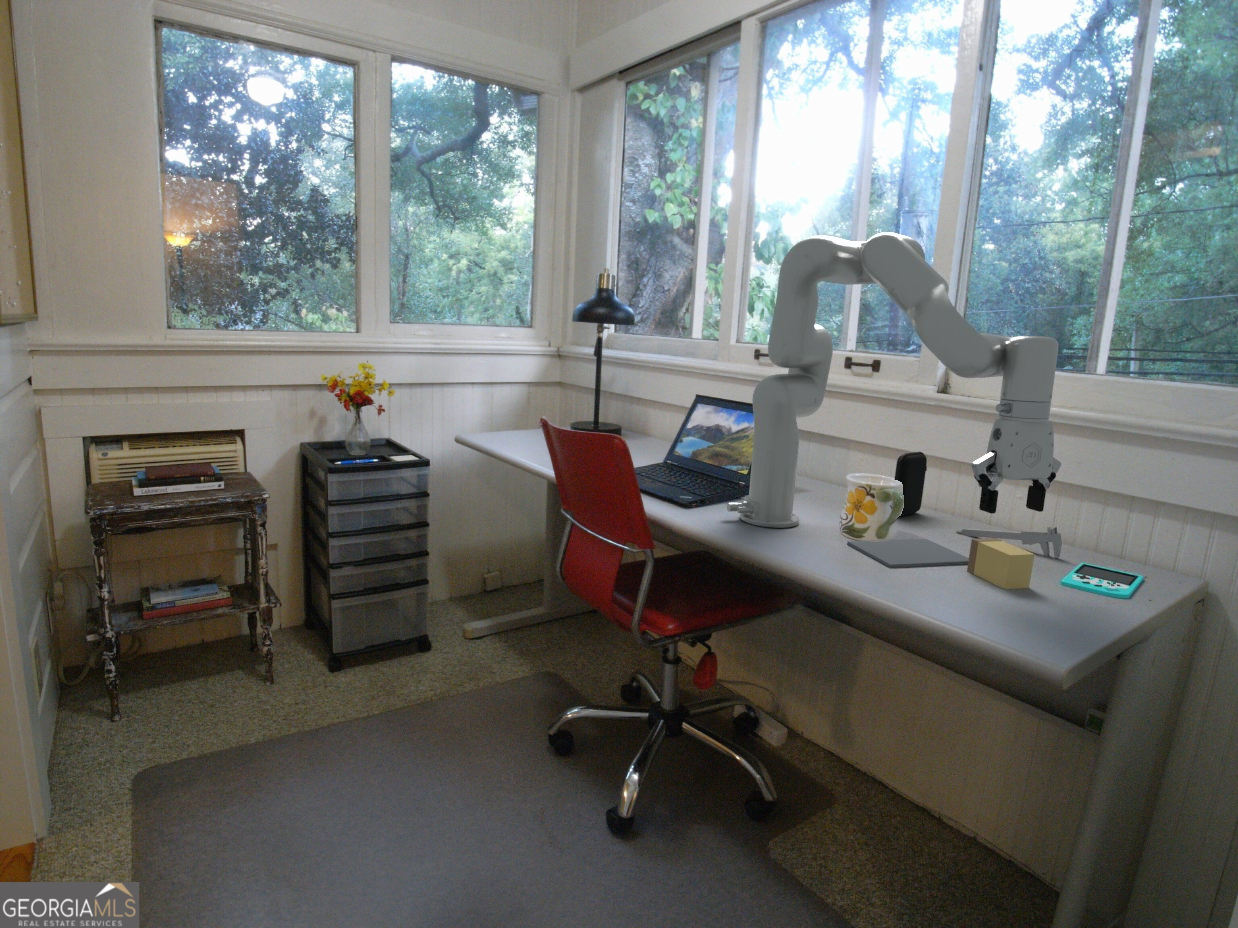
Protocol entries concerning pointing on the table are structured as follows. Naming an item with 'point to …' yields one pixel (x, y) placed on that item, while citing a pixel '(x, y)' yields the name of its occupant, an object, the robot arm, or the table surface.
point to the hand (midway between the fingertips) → (1011, 510)
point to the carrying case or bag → (911, 479)
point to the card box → (1000, 563)
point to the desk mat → (909, 553)
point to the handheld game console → (1102, 580)
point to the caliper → (1023, 538)
